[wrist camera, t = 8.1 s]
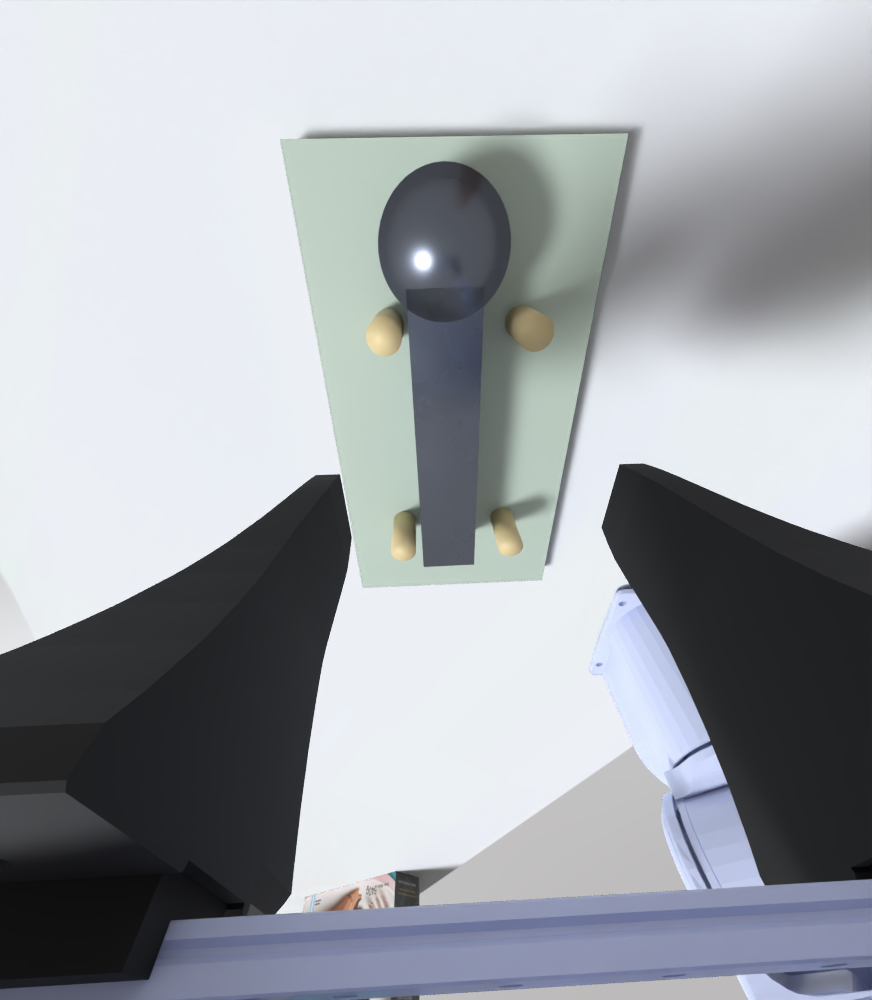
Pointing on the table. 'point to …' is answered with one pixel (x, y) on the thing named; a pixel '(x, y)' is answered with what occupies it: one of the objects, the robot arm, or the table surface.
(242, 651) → the robot arm
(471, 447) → the dark grey spoon shape
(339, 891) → the cake mix box
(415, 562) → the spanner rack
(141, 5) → the table surface
